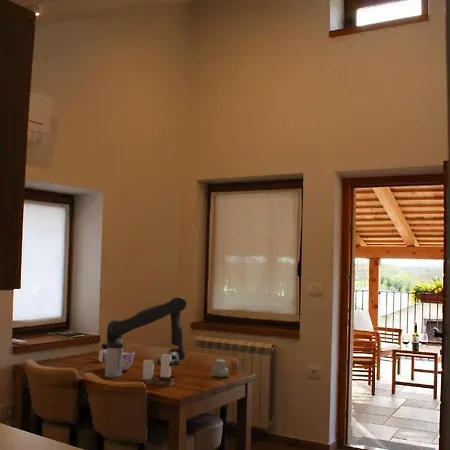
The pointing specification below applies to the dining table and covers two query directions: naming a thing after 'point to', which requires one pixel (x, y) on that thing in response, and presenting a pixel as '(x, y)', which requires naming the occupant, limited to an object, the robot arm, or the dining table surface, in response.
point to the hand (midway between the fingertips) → (165, 364)
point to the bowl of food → (124, 358)
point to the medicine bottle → (101, 354)
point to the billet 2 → (165, 365)
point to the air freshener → (220, 369)
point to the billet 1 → (148, 370)
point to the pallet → (158, 381)
